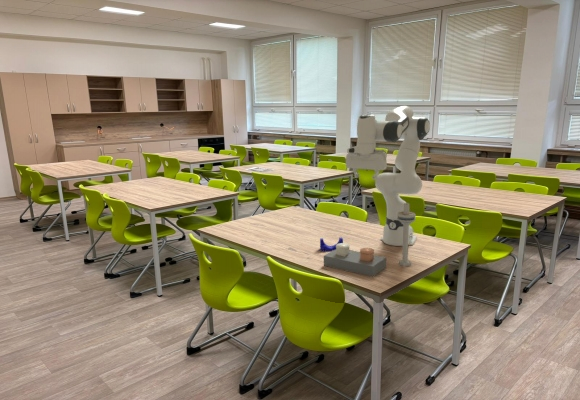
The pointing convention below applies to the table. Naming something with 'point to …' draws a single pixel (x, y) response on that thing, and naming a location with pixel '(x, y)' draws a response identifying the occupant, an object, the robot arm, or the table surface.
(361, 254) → the terracotta plunger
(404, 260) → the model tower
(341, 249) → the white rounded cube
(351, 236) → the table surface
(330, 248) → the cable clip
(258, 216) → the table surface
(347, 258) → the console
